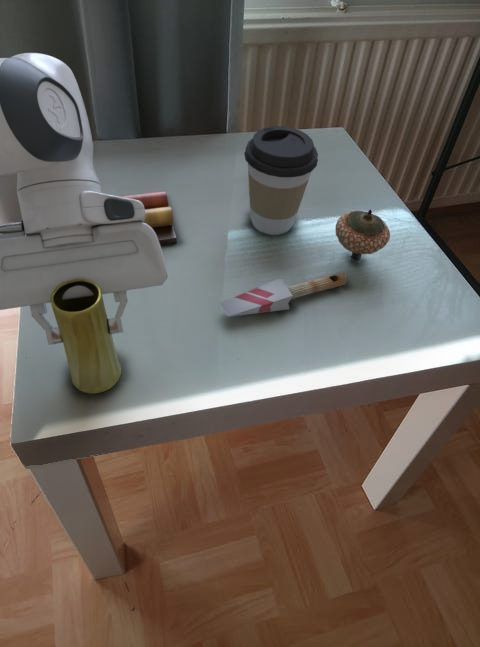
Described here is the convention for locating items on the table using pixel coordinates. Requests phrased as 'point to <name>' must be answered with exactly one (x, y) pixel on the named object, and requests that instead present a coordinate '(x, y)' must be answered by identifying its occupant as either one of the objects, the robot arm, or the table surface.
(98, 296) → the vase
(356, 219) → the acorn
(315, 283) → the sheathed knife
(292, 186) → the coffee cup
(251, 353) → the table surface
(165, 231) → the rod rack
